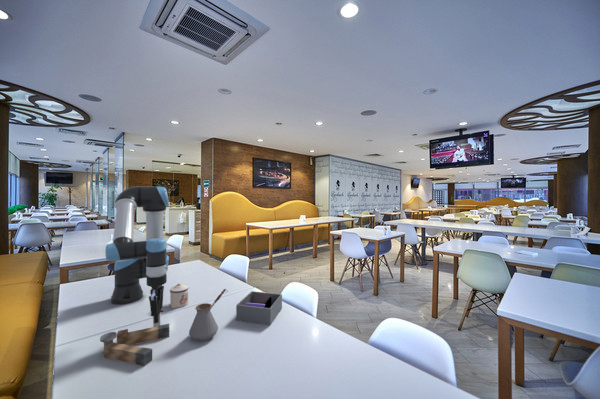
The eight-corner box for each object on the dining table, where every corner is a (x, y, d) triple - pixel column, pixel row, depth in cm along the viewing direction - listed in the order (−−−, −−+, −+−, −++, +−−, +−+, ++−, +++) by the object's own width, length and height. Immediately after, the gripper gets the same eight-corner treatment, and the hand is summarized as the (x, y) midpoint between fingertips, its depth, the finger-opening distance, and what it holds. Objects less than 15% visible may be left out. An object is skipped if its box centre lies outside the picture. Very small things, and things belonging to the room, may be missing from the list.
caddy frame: (236, 320, 118) (236, 305, 118) (251, 304, 135) (251, 291, 135) (270, 325, 114) (270, 309, 114) (282, 308, 131) (282, 294, 131)
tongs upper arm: (98, 356, 92) (98, 340, 92) (102, 347, 98) (102, 332, 97) (168, 340, 102) (168, 326, 102) (169, 332, 108) (169, 319, 108)
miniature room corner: (267, 319, 120) (267, 305, 120) (243, 317, 122) (243, 303, 122) (274, 308, 131) (274, 295, 131) (252, 306, 134) (252, 294, 133)
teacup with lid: (182, 308, 130) (182, 286, 130) (166, 307, 131) (165, 285, 131) (194, 299, 142) (194, 279, 142) (179, 298, 143) (179, 278, 143)
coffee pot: (205, 347, 98) (205, 309, 97) (182, 341, 102) (182, 305, 101) (236, 321, 118) (236, 289, 118) (216, 317, 122) (216, 286, 121)
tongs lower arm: (96, 356, 92) (95, 344, 92) (109, 348, 97) (109, 336, 97) (144, 366, 87) (144, 353, 87) (156, 356, 92) (156, 344, 92)
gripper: (161, 279, 102) (162, 335, 103) (170, 269, 115) (170, 320, 115) (141, 280, 100) (142, 338, 101) (151, 270, 113) (152, 322, 113)
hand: (157, 328), depth 108 cm, fingers closed
